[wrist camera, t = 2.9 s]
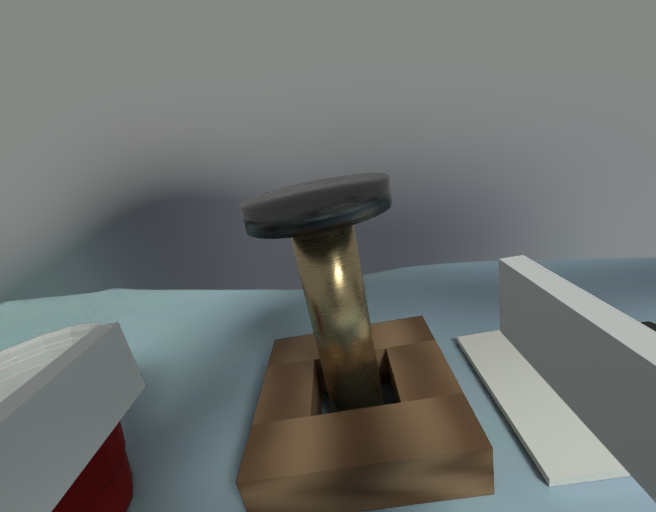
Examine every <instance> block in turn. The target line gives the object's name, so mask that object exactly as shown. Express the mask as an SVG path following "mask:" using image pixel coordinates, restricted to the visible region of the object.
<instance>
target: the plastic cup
mask: <svg viewBox="0 0 656 512" xmlns="http://www.w3.org/2000/svg"><path fill="white" fill-rule="evenodd" d="M98 325H101V324H99V323H96V322H93V323H86V324H79V325H73V326H70V327H66V328H63V329H59V330H56V331H53V332H49V333H46V334H43V335H40V336H38V337H35V338H32V339H30V340H27V341H25V342H22V343H19V344H17V345H14V346H12V347H9V348H7V349H4V350H2V351H0V402H2V401H3V400H4V399H5V398H7V397H8V396H9V395H10V394H12V393H13V392H14V391H16V390H17V389H18V388H19V387H21V386H22V385H23V384H24V383H26V382H27V381H28V380H29V379H31V378H32V377H33V376H35V375H36V374H37V373H38V372H40V371H41V370H42V369H43V368H45V367H46V366H47V365H48V364H50V363H51V362H52V361H53V360H55V359H56V358H57V357H59V356H60V355H61V354H62V353H64V352H65V351H66V350H67V349H69V348H70V347H71V346H72V345H74V344H75V343H76V342H78V341H79V340H80V339H81V338H83V337H84V336H85V335H86V334H88V333H89V332H90V331H91V330H93V329H94V328H95V327H96V326H98ZM131 499H132V473H131V470H130V466H129V462H128V458H127V454H126V451H125V440H124V436H123V432H122V428H121V424H120V421H119V423H118V424H117V425H116V427H115V428H114V429H113V431H112V432H111V433H110V434H109V436H108V437H107V438H106V440H105V441H104V442H103V444H102V445H101V446H100V448H99V449H98V450H97V452H96V453H95V454H94V456H93V457H92V458H91V460H90V461H89V462H88V464H87V465H86V466H85V468H84V469H83V470H82V472H81V473H80V474H79V476H78V477H77V478H76V480H75V481H74V482H73V484H72V485H71V486H70V488H69V489H68V490H67V492H66V493H65V494H64V496H63V497H62V498H61V500H60V501H59V502H58V504H57V505H56V506H55V508H54V509H53V510H52V512H126V511H127V508H128V506H129V504H130V501H131Z"/></svg>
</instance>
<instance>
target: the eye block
mask: <svg viewBox="0 0 656 512" xmlns="http://www.w3.org/2000/svg"><path fill="white" fill-rule="evenodd" d="M371 329H372V335H373V341H374V347H375V353H376V358H377V364H378V370H379V376H380V382H381V384H385V383H391V382H392V386H393V390H394V394H395V398H396V401H397V403H394V404H387V405H381V406H374V407H367V408H361V409H354V410H347V411H341V412H334V413H328V414H322V393H326V392H328V391H327V387H326V383H325V379H324V375H323V370H322V366H321V362H320V358H319V354H318V349H317V345H316V341H315V337H314V334H308V335H302V336H296V337H290V338H284V339H278V340H275V341H274V345H273V348H272V352H271V356H270V359H269V363H268V367H267V370H266V374H265V378H264V382H263V385H262V389H261V393H260V396H259V400H258V404H257V407H256V411H255V415H254V418H253V422H252V426H251V430H250V433H249V437H248V441H247V444H246V448H245V452H244V455H243V459H242V463H241V466H240V470H239V474H238V478H237V481H236V485H237V487H238V490H239V492H240V495H241V497H242V500H243V503H244V505H245V508H246V510H247V512H360V511H368V510H375V509H383V508H391V507H398V506H406V505H414V504H421V503H429V502H437V501H444V500H452V499H459V498H467V497H475V496H482V495H490V494H494V471H493V447H492V446H491V444H490V442H489V440H488V438H487V436H486V434H485V432H484V431H483V429H482V427H481V425H480V423H479V421H478V419H477V417H476V416H475V414H474V412H473V410H472V408H471V406H470V404H469V402H468V401H467V399H466V397H465V395H464V393H463V391H462V389H461V388H460V386H459V384H458V382H457V380H456V378H455V376H454V374H453V373H452V371H451V369H450V367H449V365H448V363H447V361H446V359H445V358H444V356H443V354H442V352H441V350H440V348H439V346H438V344H437V343H436V341H435V339H434V337H433V335H432V333H431V331H430V329H429V328H428V326H427V324H426V322H425V320H424V318H423V316H416V317H410V318H404V319H398V320H392V321H386V322H380V323H374V324H371Z"/></svg>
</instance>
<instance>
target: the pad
mask: <svg viewBox="0 0 656 512" xmlns="http://www.w3.org/2000/svg"><path fill="white" fill-rule="evenodd" d="M457 343H458V344H459V346H460V347H461V349H462V351H463V352H464V354H465V355H466V357H467V358H468V360H469V362H470V363H471V365H472V366H473V368H474V369H475V371H476V373H477V374H478V376H479V377H480V379H481V380H482V382H483V384H484V385H485V387H486V388H487V390H488V391H489V393H490V395H491V396H492V398H493V399H494V401H495V402H496V404H497V405H498V407H499V409H500V410H501V412H502V413H503V415H504V416H505V418H506V420H507V421H508V423H509V424H510V426H511V427H512V429H513V431H514V432H515V434H516V435H517V437H518V438H519V440H520V442H521V443H522V445H523V446H524V448H525V449H526V451H527V453H528V454H529V456H530V457H531V459H532V460H533V462H534V464H535V465H536V467H537V468H538V470H539V471H540V473H541V474H542V476H543V478H544V479H545V481H546V482H547V484H548V485H549V487H551V486H559V485H567V484H574V483H582V482H590V481H597V480H605V479H612V478H620V477H628V476H631V475H630V474H629V473H628V471H627V470H626V469H625V468H624V467H623V466H622V465H621V464H620V463H619V462H618V460H617V459H616V458H615V457H614V456H613V455H612V454H611V453H610V452H609V451H608V449H607V448H606V447H605V446H604V445H603V444H602V443H601V442H600V441H599V440H598V438H597V437H596V436H595V435H594V434H593V433H592V432H591V431H590V430H589V429H588V427H587V426H586V425H585V424H584V423H583V422H582V421H581V420H580V419H579V418H578V416H577V415H576V414H575V413H574V412H573V411H572V410H571V409H570V408H569V407H568V405H567V404H566V403H565V402H564V401H563V400H562V399H561V398H560V397H559V396H558V394H557V393H556V392H555V391H554V390H553V389H552V388H551V387H550V386H549V385H548V383H547V382H546V381H545V380H544V379H543V378H542V377H541V376H540V375H539V374H538V372H537V371H536V370H535V369H534V368H533V367H532V366H531V365H530V364H529V363H528V361H527V360H526V359H525V358H524V357H523V356H522V355H521V354H520V353H519V352H518V350H517V349H516V348H515V347H514V346H513V345H512V344H511V343H510V342H509V341H508V339H507V338H506V337H505V336H504V335H503V334H502V333H501V332H500V330H496V331H490V332H484V333H478V334H472V335H465V336H459V337H457Z"/></svg>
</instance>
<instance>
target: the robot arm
mask: <svg viewBox="0 0 656 512" xmlns="http://www.w3.org/2000/svg"><path fill="white" fill-rule="evenodd" d="M499 279H500V332H501V333H502V334H503V335H504V336H505V337H506V338H507V339H508V341H509V342H510V343H511V344H512V345H513V346H514V347H515V348H516V349H517V350H518V352H519V353H520V354H521V355H522V356H523V357H524V358H525V359H526V360H527V361H528V363H529V364H530V365H531V366H532V367H533V368H534V369H535V370H536V371H537V372H538V374H539V375H540V376H541V377H542V378H543V379H544V380H545V381H546V382H547V383H548V385H549V386H550V387H551V388H552V389H553V390H554V391H555V392H556V393H557V394H558V396H559V397H560V398H561V399H562V400H563V401H564V402H565V403H566V404H567V405H568V407H569V408H570V409H571V410H572V411H573V412H574V413H575V414H576V415H577V416H578V418H579V419H580V420H581V421H582V422H583V423H584V424H585V425H586V426H587V427H588V429H589V430H590V431H591V432H592V433H593V434H594V435H595V436H596V437H597V438H598V440H599V441H600V442H601V443H602V444H603V445H604V446H605V447H606V448H607V449H608V451H609V452H610V453H611V454H612V455H613V456H614V457H615V458H616V459H617V460H618V462H619V463H620V464H621V465H622V466H623V467H624V468H625V469H626V470H627V471H628V473H629V474H630V475H631V476H632V477H633V478H634V479H635V480H636V481H637V482H638V484H639V485H640V486H641V487H642V488H643V489H644V490H645V491H646V492H647V493H648V495H649V496H650V497H651V498H652V499H653V500H654V501H655V502H656V324H655V323H652V322H649V321H648V322H641V323H640V322H638V321H636V320H635V319H633V318H631V317H630V316H628V315H626V314H624V313H623V312H621V311H619V310H617V309H616V308H614V307H612V306H611V305H609V304H607V303H605V302H604V301H602V300H600V299H598V298H597V297H595V296H593V295H591V294H590V293H588V292H586V291H585V290H583V289H581V288H579V287H578V286H576V285H574V284H572V283H571V282H569V281H567V280H565V279H564V278H562V277H560V276H559V275H557V274H555V273H553V272H552V271H550V270H548V269H546V268H545V267H543V266H541V265H540V264H538V263H536V262H534V261H533V260H531V259H529V258H527V257H526V256H524V255H520V256H514V257H508V258H502V259H499ZM145 387H146V385H145V382H144V380H143V378H142V375H141V373H140V371H139V369H138V366H137V364H136V362H135V359H134V357H133V355H132V353H131V350H130V348H129V346H128V343H127V341H126V339H125V336H124V334H123V332H122V330H121V327H120V325H119V323H118V322H116V323H110V324H104V325H98V326H96V327H95V328H94V329H93V330H91V331H90V332H89V333H88V334H86V335H85V336H84V337H83V338H81V339H80V340H79V341H78V342H76V343H75V344H74V345H72V346H71V347H70V348H69V349H67V350H66V351H65V352H64V353H62V354H61V355H60V356H59V357H57V358H56V359H55V360H53V361H52V362H51V363H50V364H48V365H47V366H46V367H45V368H43V369H42V370H41V371H40V372H38V373H37V374H36V375H35V376H33V377H32V378H31V379H29V380H28V381H27V382H26V383H24V384H23V385H22V386H21V387H19V388H18V389H17V390H16V391H14V392H13V393H12V394H10V395H9V396H8V397H7V398H5V399H4V400H3V401H2V402H0V512H52V510H53V509H54V508H55V506H56V505H57V504H58V502H59V501H60V500H61V498H62V497H63V496H64V494H65V493H66V492H67V490H68V489H69V488H70V486H71V485H72V484H73V482H74V481H75V480H76V478H77V477H78V476H79V474H80V473H81V472H82V470H83V469H84V468H85V466H86V465H87V464H88V462H89V461H90V460H91V458H92V457H93V456H94V454H95V453H96V452H97V450H98V449H99V448H100V446H101V445H102V444H103V442H104V441H105V440H106V438H107V437H108V436H109V434H110V433H111V432H112V431H113V429H114V428H115V427H116V425H117V424H118V423H119V421H120V420H121V419H122V417H123V416H124V415H125V413H126V412H127V411H128V409H129V408H130V407H131V405H132V404H133V403H134V401H135V400H136V399H137V397H138V396H139V395H140V393H141V392H142V391H143V389H144V388H145Z"/></svg>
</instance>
